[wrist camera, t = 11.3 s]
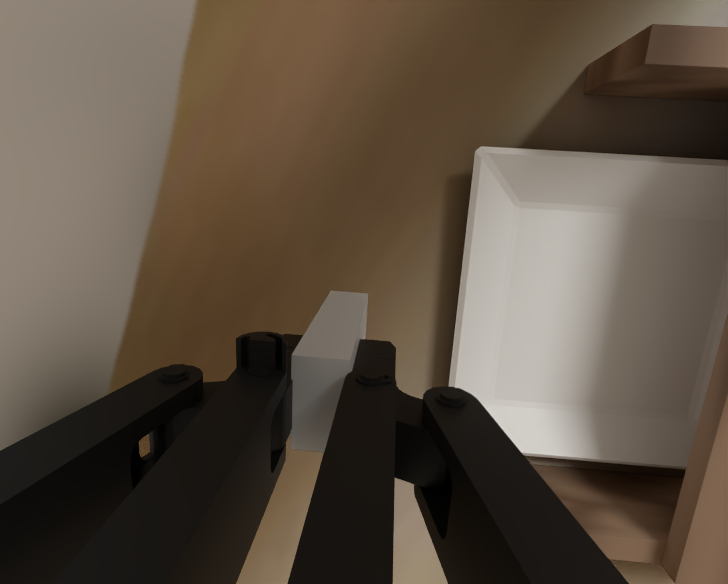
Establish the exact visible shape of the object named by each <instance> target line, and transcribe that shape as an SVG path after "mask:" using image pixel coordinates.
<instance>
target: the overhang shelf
mask: <svg viewBox="0 0 728 584" xmlns="http://www.w3.org/2000/svg"><path fill="white" fill-rule="evenodd" d="M584 94H589V95H609V96H629V97H649V98H668V99H688V100H708V101H728V27H705V26H681V25H658V24H652V25H650V26H649V27H647V28H646V29H644V30H643V31H641V32H639V33H638V34H636V35H635V36H633V37H632V38H630V39H628V40H627V41H625V42H624V43H622V44H621V45H619V46H617V47H616V48H614V49H613V50H611V51H610V52H608V53H606V54H605V55H603V56H602V57H600V58H599V59H597V60H595V61H594V62H592V63H591V64H589V65H588V71H587V77H586V83H585V89H584ZM531 465H532V464H531ZM532 466H533V467H534V469H535V470H536V471H537V472H538V473H539V475H540V476H541V477H542V478H543V480H544V481H545V482H546V483H547V484H548V486H549V487H550V488H551V489H552V491H553V492H554V493H555V494H556V495H557V497H558V498H559V499H560V500H561V502H562V503H563V504H564V505H565V506H566V508H567V509H568V510H569V511H570V513H571V514H572V515H573V516H574V517H575V519H576V520H577V521H578V522H579V524H580V525H581V526H582V527H583V528H584V530H585V531H586V532H587V533H588V535H589V536H590V537H591V538H592V539H593V541H594V542H595V543H596V544H597V545H598V547H599V548H600V549H601V550H602V552H603V553H604V554H605V555H606V556H607V558H608V559H613V560H623V561H634V562H644V563H654V564H661V565H662V566H663V568H664V569H665V570H666V572H667V573H668V575H669V576H670V577H671V579H672V580H673V582H674V583H676V584H728V314H727V318H726V322H725V325H724V329H723V333H722V337H721V340H720V344H719V348H718V352H717V355H716V359H715V363H714V367H713V370H712V374H711V378H710V382H709V386H708V389H707V393H706V397H705V401H704V404H703V408H702V412H701V416H700V419H699V423H698V427H697V431H696V434H695V438H694V442H693V446H692V449H691V453H690V457H689V461H688V465H687V468H686V472H685V476H684V478H677V477H666V476H654V475H643V474H632V473H621V472H610V471H599V470H588V469H576V468H565V467H554V466H543V465H532Z"/></svg>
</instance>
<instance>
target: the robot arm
mask: <svg viewBox="0 0 728 584" xmlns="http://www.w3.org/2000/svg"><path fill="white" fill-rule="evenodd" d="M367 306H368V293H356V292H343V291H330V293H329V295H328V296H327V298H326V299H325V301H324V303H323V304H322V306H321V308H320V309H319V311H318V313H317V314H316V316H315V317H314V319H313V321H312V322H311V324H310V326H309V327H308V329H307V331H306V332H305V334H304V335H292V334H284V335H281V334H278V333H273V332H253V333H247V334H244V335H241V336H239V337H238V338H236V358H237V368H236V369H235V371H234V372H233V373H232V374H231V375H230V376H229V378H228V379H227V380H226V381H219V382H205V383H203V372H202V371H201V370H200V369H199V368H197V367H194V366H188V365H184V364H179V365H177V364H175V365H170V366H168V367H163V368H160V369H158V370H155V371H153V372H151V373H149V374H147V375H145V376H143V377H141V378H139V379H137V380H135V381H133V382H131V383H130V384H128V385H126V386H124V387H122V388H120V389H118V390H116V391H114V392H112V393H110V394H108V395H107V396H105V397H103V398H101V399H99V400H97V401H95V402H93V403H92V404H89V405H87V406H86V407H84V408H82V409H80V410H78V411H76V412H74V413H72V414H70V415H68V416H66V417H64V418H62V419H61V420H59V421H57V422H55V423H53V424H51V425H49V426H47V427H45V428H43V429H41V430H39V431H37V432H36V433H34V434H32V435H30V436H28V437H26V438H24V439H22V440H20V441H18V442H16V443H15V444H13V445H11V446H9V447H7V448H5V449H3V450H1V451H0V584H236V582H237V580H238V577H239V575H240V572H241V570H242V567H243V565H244V562H245V560H246V557H247V555H248V552H249V550H250V547H251V545H252V542H253V540H254V537H255V535H256V532H257V530H258V527H259V525H260V522H261V520H262V517H263V515H264V512H265V510H266V507H267V505H268V502H269V500H270V497H271V495H272V492H273V490H274V487H275V485H276V482H277V480H278V477H279V475H280V472H281V470H282V467H283V465H284V462H285V457H286V441H287V439H288V436H289V434H290V449H294V450H304V451H314V452H324V455H323V458H322V462H321V466H320V469H319V473H318V476H317V480H316V484H315V487H314V491H313V494H312V498H311V502H310V505H309V509H308V512H307V516H306V519H305V523H304V527H303V530H302V534H301V537H300V541H299V545H298V548H297V552H296V555H295V559H294V563H293V566H292V570H291V573H290V577H289V581H288V584H393V531H394V479H395V478H398V479H401V480H404V481H407V482H410V483H412V484H414V494H415V497H416V500H417V503H418V505H419V508H420V511H421V513H422V516H423V518H424V521H425V524H426V526H427V529H428V532H429V534H430V537H431V540H432V542H433V545H434V547H435V550H436V553H437V555H438V558H439V561H440V563H441V566H442V568H443V571H444V574H445V576H446V579H447V582H448V584H629V583H628V582H627V581H626V580H625V578H624V577H623V576H622V575H621V574H620V572H619V571H618V570H617V569H616V567H615V566H614V565H613V564H612V563H611V561H610V560H609V559H608V558H607V556H606V555H605V554H604V553H603V552H602V550H601V549H600V548H599V547H598V545H597V544H596V543H595V542H594V541H593V539H592V538H591V537H590V536H589V535H588V533H587V532H586V531H585V530H584V528H583V527H582V526H581V525H580V524H579V522H578V521H577V520H576V519H575V517H574V516H573V515H572V514H571V513H570V511H569V510H568V509H567V508H566V506H565V505H564V504H563V503H562V502H561V500H560V499H559V498H558V497H557V495H556V494H555V493H554V492H553V491H552V489H551V488H550V487H549V486H548V484H547V483H546V482H545V481H544V480H543V478H542V477H541V476H540V475H539V473H538V472H537V471H536V470H535V469H534V467H533V466H532V465H531V464H530V463H529V461H528V460H527V459H526V458H525V456H524V455H523V454H522V453H521V452H520V450H519V449H518V448H517V447H516V445H515V444H514V443H513V442H512V441H511V439H510V438H509V437H508V436H507V434H506V433H505V432H504V431H503V430H502V428H501V427H500V426H499V425H498V423H497V422H496V421H495V420H494V419H493V417H492V416H491V415H490V414H489V412H488V411H487V410H486V409H485V408H484V406H483V405H482V404H481V403H480V401H479V400H478V399H477V398H476V397H474V396H473V395H472V394H470V393H468V392H466V391H464V390H462V389H460V388H455V387H451V386H449V387H435V388H432V389H429V390H427V391H426V392H425V394H424V395H423V399H419V398H416V397H413V396H410V395H408V394H406V393H404V392H402V391H401V390H399V389H398V387H397V386H396V380H395V360H396V348H395V347H394V346H393V344H392V343H391V342H390V341H378V340H366V339H365V337H366V322H367ZM147 434H149V440H150V452H149V453H148V454H147V455H145V456H143V457H140V454H139V443H138V442H139V441H140V440H141V439H142V438H143V437H144V436H146V435H147Z"/></svg>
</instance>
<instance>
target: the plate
mask: <svg viewBox="0 0 728 584" xmlns="http://www.w3.org/2000/svg"><path fill="white" fill-rule="evenodd" d="M727 314H728V160H716V159H698V158H680V157H662V156H645V155H627V154H609V153H591V152H573V151H555V150H537V149H519V148H501V147H483V146H481V147H479V148H478V149H477V150H476V151H475V157H474V166H473V175H472V184H471V192H470V201H469V210H468V219H467V227H466V236H465V245H464V254H463V263H462V271H461V280H460V289H459V298H458V307H457V315H456V324H455V333H454V342H453V351H452V359H451V368H450V377H449V386H451V387H455V388H460V389H462V390H464V391H466V392H468V393H470V394H472V395H473V396H474V397H476V398H477V399H478V400H479V401H480V403H481V404H482V405H483V406H484V408H485V409H486V410H487V411H488V412H489V414H490V415H491V416H492V417H493V419H494V420H495V421H496V422H497V423H498V425H499V426H500V427H501V428H502V430H503V431H504V432H505V433H506V434H507V436H508V437H509V438H510V439H511V441H512V442H513V443H514V444H515V445H516V447H517V448H518V449H519V450H520V452H521V453H522V454H523V455H525V456H537V457H548V458H559V459H571V460H582V461H594V462H605V463H616V464H628V465H639V466H651V467H662V468H673V469H685V470H686V468H687V465H688V461H689V457H690V453H691V449H692V446H693V442H694V438H695V434H696V431H697V427H698V423H699V419H700V416H701V412H702V408H703V404H704V401H705V397H706V393H707V389H708V386H709V382H710V378H711V374H712V370H713V367H714V363H715V359H716V355H717V352H718V348H719V344H720V340H721V337H722V333H723V329H724V325H725V322H726V318H727ZM449 386H448V387H449Z"/></svg>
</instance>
